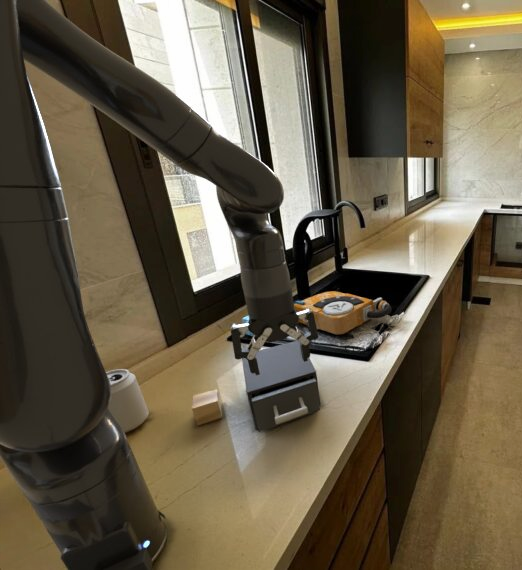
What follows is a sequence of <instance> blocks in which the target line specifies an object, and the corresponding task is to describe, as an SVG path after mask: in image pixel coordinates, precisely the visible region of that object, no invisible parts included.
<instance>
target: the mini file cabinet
mask: <svg viewBox="0 0 522 570" xmlns="http://www.w3.org/2000/svg"><path fill="white" fill-rule="evenodd" d="M318 390H319V389H318ZM318 390H317V383H316V380H315V378H314V379H310V376H309V377H306V378H303V379H300V380H296V381H293V382H290V383H287V384H284V385H280V386H277V387H274V388H271V389H268V390H264V391H261V392H258V393H255V397H254V398H252V404H253V408H254V412H255V416H256V421H257V425H258V429H257V430H258V432H259V433H261V432H263V431H267V430H269V429H272V428H274V427H277V426H280V425H283V424H286V423H288V422H291V421H294V420H296V419H299V418H302V417H305V416H307V415H311V414H313V413H315V412H318V411H320V410H321V406H320V405H319V397H320V396H319V397H318Z"/></svg>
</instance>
